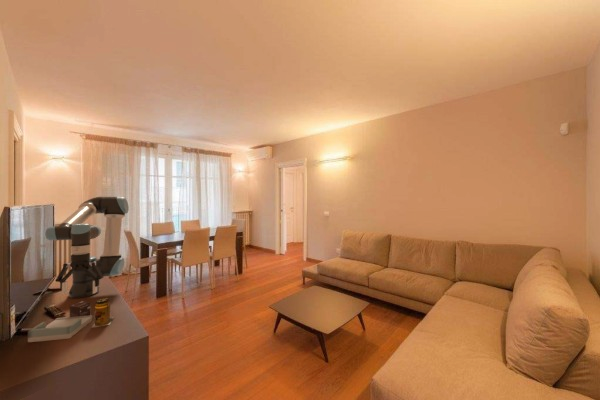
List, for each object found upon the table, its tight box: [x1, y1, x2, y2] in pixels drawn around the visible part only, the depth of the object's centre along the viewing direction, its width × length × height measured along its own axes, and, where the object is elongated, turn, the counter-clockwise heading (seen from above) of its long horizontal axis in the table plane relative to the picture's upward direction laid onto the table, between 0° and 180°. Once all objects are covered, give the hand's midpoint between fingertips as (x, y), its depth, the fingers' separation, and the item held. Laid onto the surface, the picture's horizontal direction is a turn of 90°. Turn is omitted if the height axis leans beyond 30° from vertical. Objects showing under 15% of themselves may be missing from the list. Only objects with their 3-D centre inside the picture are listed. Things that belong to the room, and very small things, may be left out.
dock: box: [27, 314, 94, 343], centre depth 117 cm, size 17×16×5 cm
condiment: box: [91, 297, 115, 328], centre depth 124 cm, size 7×8×12 cm
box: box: [69, 301, 91, 317], centre depth 129 cm, size 6×6×7 cm
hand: (79, 293), depth 128 cm, fingers open, 13 cm apart
